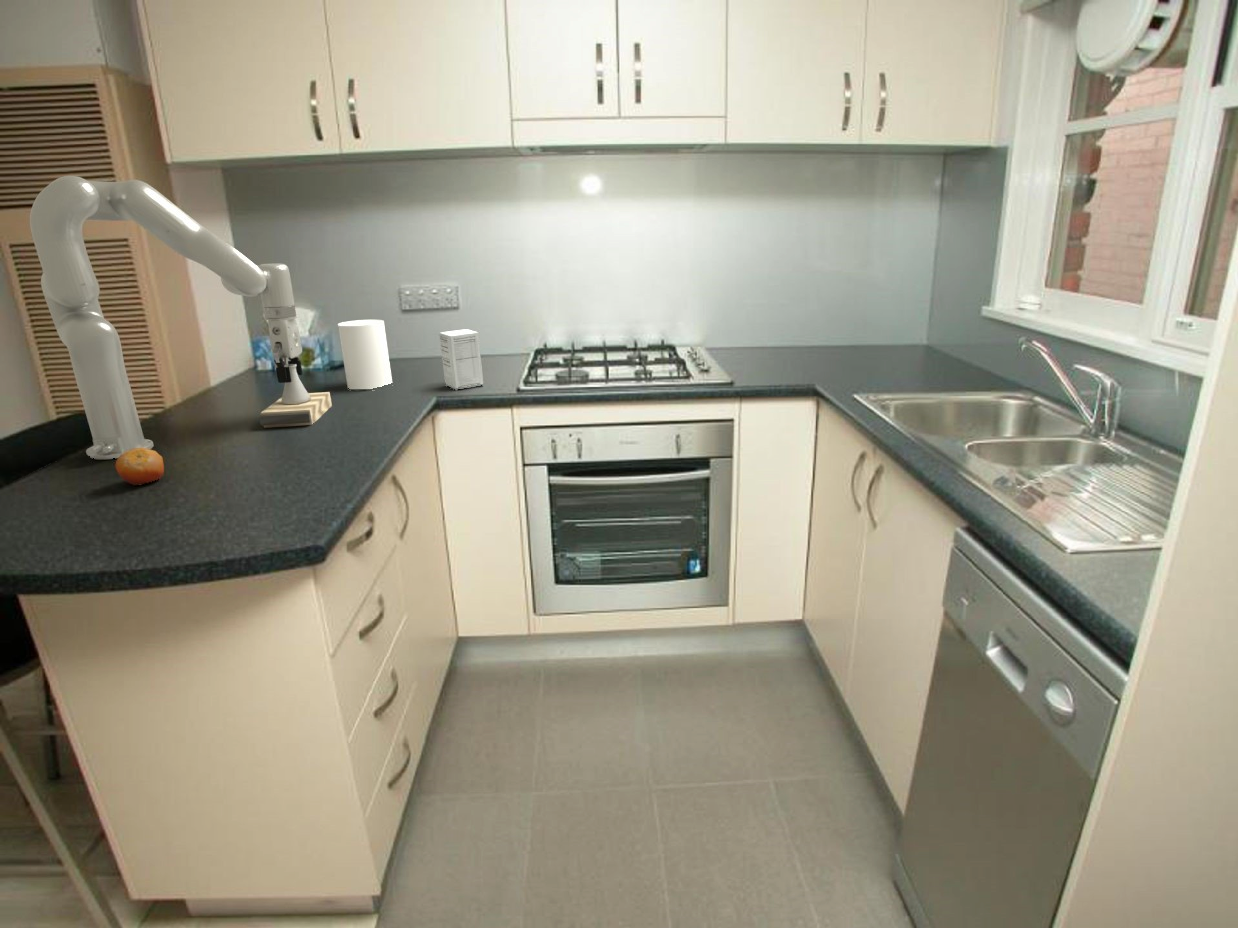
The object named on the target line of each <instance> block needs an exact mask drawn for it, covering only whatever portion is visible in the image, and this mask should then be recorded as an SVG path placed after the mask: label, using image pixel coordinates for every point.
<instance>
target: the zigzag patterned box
mask: <svg viewBox="0 0 1238 928" xmlns="http://www.w3.org/2000/svg"><path fill="white" fill-rule="evenodd" d="M308 394H309V396H310V397H311V399H310V400H309V401H307V402H303V403H300V404H282V403H281V400H282V396H281V397H280V398H278V399H277V400H276V401H275V402H273V403H272V404H270V405H269V406H267V407H266V408H265V409H263V410H262V411H261V412H260V415H259V417H258V418H259V424H260V426H261V427H262V426H263V428H265V429H266V428H267V429H269V428H280V427H281V428H282V427H296V426H299V427H300V426H312V425H313V423H314V424H315V422H317V421H318V420H319V419H321V418H322V416H323V415H324V414H325V413H326V412H327V411H328V410H329V409H330V408H332V406H333V405H332V404H333V403H332V398H331V393H330V391H325V392H308Z"/></svg>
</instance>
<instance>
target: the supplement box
mask: <svg viewBox="0 0 1238 928" xmlns="http://www.w3.org/2000/svg"><path fill="white" fill-rule="evenodd" d="M438 336H439V343H440V352H441V353H440V354H441V361H442V368H443V375H444V384H445V383H446V384H448V385H451V386H452V387H455V388H458V387H467V386H471V385H477V384H483V383H484V376H483V367H482V357H481V346H480V338H479V332H478V331H474V330H471V329H468V328H467V329H458V330H450V331H443V332H439V333H438Z"/></svg>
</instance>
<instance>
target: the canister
mask: <svg viewBox="0 0 1238 928" xmlns="http://www.w3.org/2000/svg"><path fill="white" fill-rule="evenodd" d="M337 327H338V328H337V329H338V335H339V340H340V347H341V353H342V359H343V365H344V372H345V378H346V379H345V380H346V385H347V389H348V388H349V389H373V388H377V387H382V386H384V385H388V384H391V383H393V377H392V371H391V364H390V363H391V362H390V357H389V348H388V342H387V341H388V340H387V334H386V328H385V327H386V326H385V321H384V320H382V319H357V320H349V321H348V320H347V321H342V322H339V323H338V324H337ZM349 389H348V390H349Z"/></svg>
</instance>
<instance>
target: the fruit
mask: <svg viewBox="0 0 1238 928" xmlns="http://www.w3.org/2000/svg"><path fill="white" fill-rule="evenodd" d="M163 459H164V458H163V456H162V455H160V454H159V452H157V451H156V450H153V449H145V448H140V447H139V448H134V449H131V450H129V451H126V452H124V453H123V454H122V455H121V456H120V457H119V458H116V461H115V469H116V471H117V473H118V475H119V477H120V478H121V479H122V480H123V481H125V482H126V483H128V484H131V485H133V486H135V485H139V484H144V483H147V484H149V482H150V483H153V482H155V480H156V481H159V480H160V479H161V478H162V477H163V476H164V472H165V466H164V465H165V464H164V460H163ZM158 479H159V480H158ZM152 481H153V482H152ZM144 485H145V484H144Z"/></svg>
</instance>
